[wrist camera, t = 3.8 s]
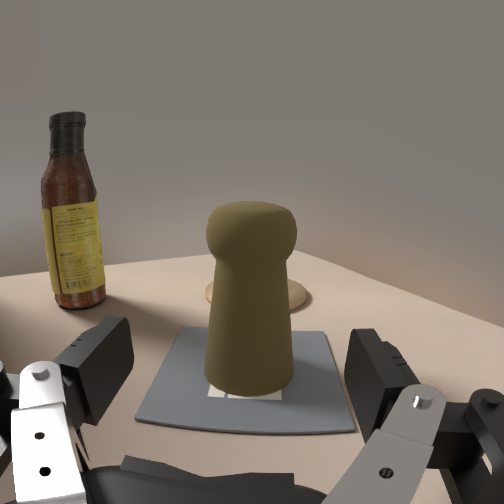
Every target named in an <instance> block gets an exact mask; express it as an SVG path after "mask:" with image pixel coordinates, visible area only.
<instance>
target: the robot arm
mask: <svg viewBox="0 0 504 504" xmlns="http://www.w3.org/2000/svg"><path fill="white" fill-rule="evenodd" d="M402 357H403V356H402V355H401V353H400V352H399V350H398V349H397V348H396V347H394V346H393V345H392V344H390V343H389V342H387V341H384V342H382V341H381V339H380V338H379V336H378V334H377V333H376V331H375V330H374V329H353V330H352V332H351V335H350V341H349V346H348V352H347V358H346V363H345V370H344V378H345V384H346V387H347V390H348V393H349V396H350V399H351V402H352V405H353V408H354V411H355V414H356V417H357V420H358V423H359V426H360V429H361V432H362V436H363V439H364V442H365V446H364V447H363V449H362V450H361V452H360V453H359V454H358V456H357V457H356V459H355V460H354V462H353V463H352V464H351V466H350V467H349V468H348V470H347V471H346V473H345V474H344V475H343V477H342V478H341V479H340V480H339V482H338V483H337V484H336V486H335V487H334V488H333V489H332V491H331V492H330V493H329V494H328V495H326V494H324V493H322V492H320V491H317V490H314V489H312V488H308V487H304V486H300V485H295V484H294V473H251V472H250V473H243V474H235V475H226V476H216V477H202V476H198V475H195V474H192V473H189V472H187V471H184V470H181V469H178V468H175V467H173V466H170V465H168V464H165V463H161V462H156V461H150V460H145V459H140V458H136V457H131V456H127V455H125V458H124V460H123V462H122V464H121V466H105V467H98V468H93V465H92V462H91V459H90V456H89V453H88V449H87V446H86V443H85V439H84V436H83V433H82V430H81V428H80V426H81V425H82V423H87V424H91V425H94V426H97V424H98V422H99V421H100V419H101V418H102V416H103V414H104V413H105V411H106V410H107V408H108V407H109V405H110V403H111V402H112V400H113V399H114V397H115V396H116V394H117V392H118V391H119V389H120V388H121V386H122V385H123V383H124V381H125V380H126V378H127V377H128V375H129V374H130V372H131V371H132V368H133V364H134V353H133V346H132V340H131V333H130V326H129V322H128V320H127V319H126V318H122V317H113V316H106V317H105V318H104V319H103V320H102V321H101V322H100V323H99V324H98V325H97V326H96V327H93V328H91V329H89V330H87V331H85V332H83V333H82V334H81V335H80V336H79V337H78V338H77V339H76V340H75V341H74V342H72V343H71V344H70V346H68V347H67V348H66V349H65V350H64V351H63V352H62V353H61V354H60V355H59V356H58V357H57V358H56V359H55V360H54V361H53V362H51V361H38V362H34V363H32V364H29V365H28V366H26V367H25V368H24V369H23V370H22V372H21V374H9V373H6V371H5V369H4V366H3V363H2V362H1V361H0V477H1V475H2V474H3V472H4V471H5V469H6V468H7V466H8V465H9V463H10V462H11V460H12V459H13V467H14V478H15V487H16V494H17V499H16V500H14V501H11V502H8V503H5V504H410V502H411V500H412V498H413V496H414V494H415V492H416V490H417V487H418V485H419V483H420V481H421V478H422V476H423V474H424V471H425V469H426V468H428V469H439V470H440V473H441V476H442V478H443V481H444V483H445V486H446V489H447V491H448V494H449V497H450V499H451V502H452V504H504V395H503V394H501V393H500V392H498V391H495V390H492V389H479V390H476V391H475V392H473V394H472V395H471V397H470V400H469V402H468V403H455V402H446V399H445V396H444V395H443V394H442V392H440V391H439V390H438V389H436V388H434V387H431V386H428V385H423V384H420V382H419V381H418V379H417V377H416V376H415V374H414V373H413V371H412V370H411V368H410V367H409V365H407V362H406V361H405V359H404V358H402ZM484 453H486V455H487V457H488V459H489V461H490V463H491V465H492V475H491V474H490V472H489V470H488V468H487V466H486V464H485V462H484V461H483V459H482V456H483V455H484Z"/></svg>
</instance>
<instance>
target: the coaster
mask: <svg viewBox="0 0 504 504" xmlns="http://www.w3.org/2000/svg"><path fill="white" fill-rule="evenodd" d="M287 281H288V293H289V307H290V311H291V310H294V309H296V308H298V307H300V306H301V305H303V304H304V302H305V301H306V295H307V292H306V289H305V288H304V287H303V286H302V285H301V284H299V283H298V282H295V281H293V280H290V279H287ZM213 284H214V281H213V282H212V283H210V284H209V285H208V286H207V287H206V299H207V300H208V302H209V303H211V301H212V292H213Z"/></svg>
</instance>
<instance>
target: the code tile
mask: <svg viewBox="0 0 504 504" xmlns="http://www.w3.org/2000/svg"><path fill="white" fill-rule="evenodd" d="M291 335H292V350H293V366H294V373H293V377H292V380H291V381H290V382H289V383H288V384H287V386H286V387H284V388H282V389H280V390H279V391H277V392H275V393H271V394H267V395H263V396H252V397H243V396H237V395H231V394H228V393H226V392H223V391H221V390H218V389H216V388H215V387H214V386H213V385H211V384H210V383H209V382H208V380H207V379H206V377H205V375H204V369H205V358H206V348H207V338H208V328H202V327H188V326H182V328H181V330H180V332H179V334H178V336H177V338H176V339H175V341H174V343H173V345H172V347H171V349H170V351H169V353H168V354H167V356H166V358H165V360H164V362H163V364H162V366H161V368H160V369H159V371H158V373H157V375H156V377H155V379H154V381H153V383H152V385H151V387H150V388H149V390H148V392H147V394H146V396H145V398H144V400H143V402H142V404H141V406H140V408H139V410H138V412H137V413H136V415H135V417H134V418H135V420H137V421H142V422H148V423H154V424H160V425H167V426H174V427H181V428H189V429H198V430H208V431H219V432H232V433H251V434H321V433H339V432H353V431H355V426H354V423H353V420H352V417H351V414H350V410H349V407H348V404H347V401H346V398H345V395H344V391H343V388H342V385H341V382H340V379H339V376H338V373H337V370H336V367H335V364H334V361H333V358H332V355H331V352H330V349H329V346H328V343H327V340H326V337H325V334H324V331H291Z"/></svg>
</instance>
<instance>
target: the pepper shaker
mask: <svg viewBox="0 0 504 504" xmlns="http://www.w3.org/2000/svg"><path fill="white" fill-rule="evenodd" d="M206 237H207V239H206V240H207V244H208V247H209V250H210V251H211V253H212V255H213V256H214V257H215V259H216V267H215V275H214V284H213V292H212V301H211V310H210V319H209V328H208V338H207V348H206V358H205V369H204V375H205V377H206V379H207V380H208V382H209V383H210V384H211V385H213V386H214V387H215V388H216V389H218V390H221V391H223V392H226V393H228V394H231V395H237V396H243V397H252V396H263V395H267V394H271V393H275V392H277V391H279V390H280V389H282V388H284V387H286V386H287V384H288V383H289V382H290V381H291V380H292V377H293V373H294V366H293V350H292V335H291V320H290V307H289V293H288V281H287V269H286V260H287V259H288V257H289V256H290V255H291V254H292V252H293V249H294V246H295V243H296V238H297V228H296V222H295V219H294V217H293V215H292V213H291V212H290V211H289V210H287V209H286V208H284V207H282V206H279V205H276V204H271V203H267V202H260V201H259V202H258V201H240V202H234V203H229V204H225V205H222V206H219V207H217V208H216V209H214V210H213V212H212V214H211V215H210V217H209V220H208V224H207V228H206Z"/></svg>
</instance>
